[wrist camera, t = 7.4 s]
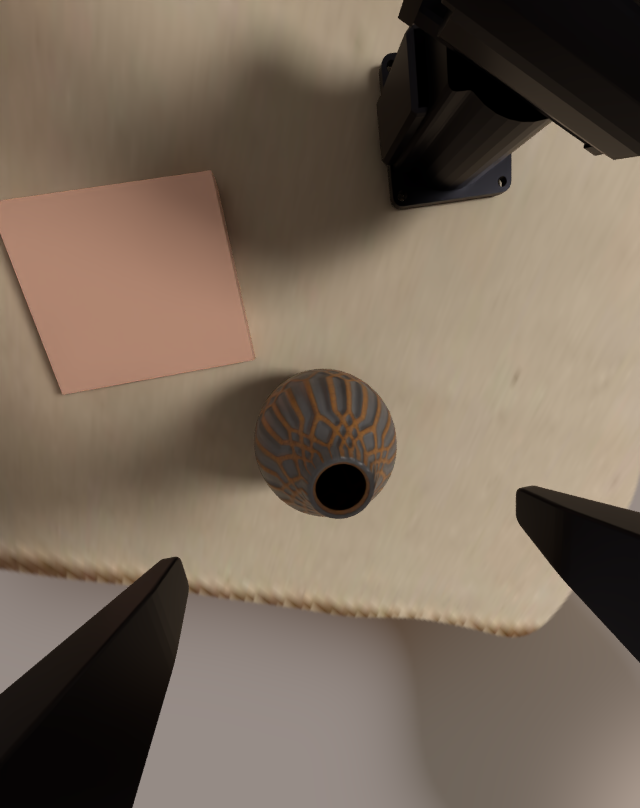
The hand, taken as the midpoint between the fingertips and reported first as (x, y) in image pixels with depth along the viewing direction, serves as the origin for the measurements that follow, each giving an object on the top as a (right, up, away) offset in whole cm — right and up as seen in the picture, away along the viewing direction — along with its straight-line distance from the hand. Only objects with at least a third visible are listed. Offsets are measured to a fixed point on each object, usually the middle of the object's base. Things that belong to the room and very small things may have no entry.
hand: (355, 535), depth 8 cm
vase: (-1, +3, +11) cm, 12 cm away
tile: (-11, +14, +7) cm, 19 cm away
